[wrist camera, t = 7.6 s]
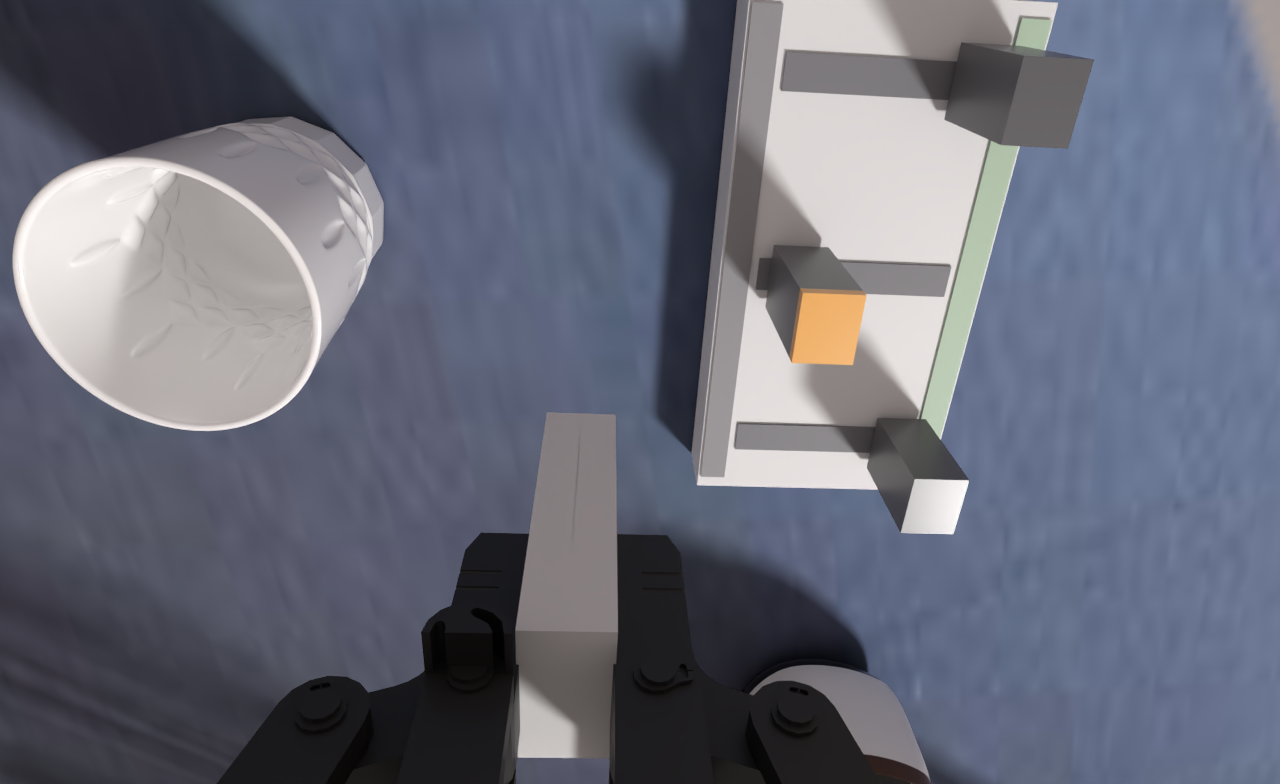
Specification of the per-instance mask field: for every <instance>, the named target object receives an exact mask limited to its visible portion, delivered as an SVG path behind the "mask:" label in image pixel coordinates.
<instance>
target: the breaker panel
mask: <svg viewBox="0 0 1280 784" xmlns="http://www.w3.org/2000/svg"><path fill="white" fill-rule="evenodd" d="M1057 6H1058V3H1051V2H1039V1H1027V0H737V7H736V17H735V27H734V37H733V47H732V56H731V66H730V76H729V86H728V96H727V106H726V116H725V126H724V136H723V146H722V156H721V166H720V175H719V185H718V195H717V205H716V215H715V225H714V235H713V245H712V255H711V265H710V275H709V285H708V294H707V304H706V314H705V324H704V334H703V344H702V354H701V364H700V374H699V384H698V394H697V404H696V414H695V423H694V433H693V443H692V453H691V454H692V459H693V465H694V471H695V476H696V482H697V485H710V486H752V487H794V488H835V489H877V490H878V488H877V487H876V485H875V483H874V481H873V479H872V477H871V475H870V473H869V471H868V469H867V463H868V459H869V454H870V450H871V445H872V441H873V436H874V432H875V427H876V423H877V418H902V419H926V420H927V422H928V423H929V424H930V426H931V427H932V429H933V430H934V431H935V433H936V434H937V436H938V437H939V438H940V440H941V437H942V433H943V429H944V426H945V422H946V418H947V415H948V411H949V407H950V403H951V400H952V396H953V392H954V389H955V385H956V381H957V377H958V374H959V370H960V366H961V362H962V359H963V355H964V351H965V348H966V344H967V340H968V336H969V333H970V329H971V325H972V322H973V318H974V314H975V310H976V307H977V303H978V299H979V296H980V292H981V288H982V284H983V281H984V277H985V273H986V270H987V266H988V262H989V258H990V255H991V251H992V247H993V244H994V240H995V236H996V232H997V229H998V225H999V221H1000V218H1001V214H1002V210H1003V206H1004V203H1005V199H1006V195H1007V192H1008V188H1009V184H1010V180H1011V177H1012V173H1013V169H1014V165H1015V162H1016V158H1017V154H1018V151H1019V147H1020V146H1007V145H999V144H997V143H995V142H993V141H991V140H988V139H986V138H984V137H982V136H979V135H977V134H975V133H973V132H971V131H968V130H966V129H964V128H962V127H960V126H957V125H955V124H953V123H951V122H948V121H946V120H944V118H945V113H946V109H947V104H948V100H949V95H950V91H951V86H952V82H953V77H954V73H955V68H956V64H957V60H958V55H959V51H960V46H961V42H964V43H981V44H998V45H1015V46H1024V47H1030V48H1035V49H1040V50H1046V47H1047V43H1048V39H1049V35H1050V32H1051V28H1052V24H1053V21H1054V17H1055V13H1056V9H1057ZM774 245H785V246H809V247H829V249H830V250H831V251H832V252H833V254H834V255H835V256H836V257H837V259H838V260H839V261H840V262H841V264H842V265H843V266H844V267H845V269H846V270H847V271H848V273H849V274H850V275H851V276H852V278H853V279H854V280H855V281H856V283H857V284H858V285H859V286H860V288H861V289H862V290H863V291H864V293H865V294H866V295H867V296H866V301H865V306H864V311H863V316H862V321H861V326H860V331H859V336H858V341H857V346H856V351H855V357H854V362H853V365H835V364H805V363H791V360H790V358H789V356H788V354H787V352H786V350H785V348H784V346H783V343H782V341H781V339H780V337H779V335H778V333H777V331H776V329H775V327H774V324H773V322H772V320H771V318H770V316H769V314H768V312H767V310H766V307H765V306H766V299H767V291H768V284H769V277H770V270H771V262H772V255H773V248H774Z"/></svg>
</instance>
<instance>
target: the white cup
mask: <svg viewBox="0 0 1280 784" xmlns="http://www.w3.org/2000/svg"><path fill="white" fill-rule="evenodd" d="M383 219H384V202H383V200H382V198H381V195H380V193H379V191H378V189H377V186H376V184H375V182H374V180H373V177H372V175H371V173H370V171H369V168H368V166H367V164H366V163H365V162H364V161H363V160H362V159H361V158H360V157H359V156H358V155H357V154H355V153H354V152H353V151H352V150H351V149H350V148H349V147H348V146H347V145H346V144H345V143H344V142H343V141H342V140H341V139H340V138H339V137H338V136H337V135H336V134H334V133H333V132H330V131H328V130H325V129H323V128H320V127H317V126H315V125H312V124H310V123H307V122H305V121H302V120H299V119H297V118H294V117H291V116H289V117H273V118H257V119H247V120H244V121H241V122H238V123H230V124H225V125H220V126H215V127H211V128H207V129H203V130H199V131H194V132H190V133H186V134H182V135H179V136H175V137H172V138H168V139H165V140H162V141H158V142H155V143H152V144H148V145H145V146H142V147H138V148H135V149H132V150H128V151H125V152H121V153H118V154H115V155H111V156H108V157H104V158H101V159H97V160H94V161H90V162H87V163H84V164H81V165H78V166H76V167H73V168H71V169H69V170H67V171H65V172H63V173H62V174H60V175H58V176H57V177H55V178H54V179H53V180H51V181H50V182H49V183H47V184H46V185H45V186H44V187H43V188H42V189H41V190H40V191H39V192H38V193H37V194H36V195H35V197H34V198H33V199H32V200H31V202H30V203H29V205H28V206H27V208H26V210H25V211H24V213H23V215H22V217H21V220H20V222H19V225H18V227H17V231H16V234H15V239H14V245H13V256H12V264H13V276H14V282H15V287H16V291H17V295H18V298H19V301H20V304H21V307H22V310H23V312H24V314H25V317H26V319H27V321H28V323H29V325H30V327H31V328H32V330H33V332H34V334H35V335H36V337H37V338H38V340H39V341H40V343H41V344H42V346H43V347H44V348H45V350H46V351H47V352H48V353H49V355H50V356H51V357H52V358H53V359H54V361H55V362H56V363H57V364H58V365H59V366H60V367H61V368H62V369H63V370H64V371H65V372H66V373H67V374H68V375H69V376H70V377H71V378H73V379H74V380H75V381H76V382H77V383H78V384H80V385H81V386H82V387H83V388H85V389H86V390H87V391H89V392H90V393H92V394H93V395H95V396H96V397H98V398H99V399H101V400H102V401H104V402H106V403H107V404H109V405H111V406H113V407H115V408H117V409H118V410H120V411H123V412H125V413H127V414H129V415H132V416H134V417H136V418H139V419H142V420H145V421H148V422H151V423H154V424H158V425H162V426H166V427H171V428H176V429H183V430H194V431H216V430H226V429H232V428H237V427H241V426H245V425H248V424H251V423H254V422H257V421H259V420H261V419H264V418H266V417H268V416H269V415H271V414H273V413H275V412H276V411H278V410H279V409H281V408H282V407H283V406H285V405H286V404H287V403H288V402H289V401H291V400H292V399H293V398H294V397H295V396H296V395H297V393H298V392H299V391H300V390H301V389H302V387H303V386H304V384H305V383H306V382H307V380H308V378H309V377H310V375H311V373H312V371H313V370H314V368H315V366H316V365H317V363H318V361H319V360H320V358H321V356H322V355H323V353H324V351H325V349H326V347H327V346H328V344H329V342H330V341H331V339H332V337H333V336H334V334H335V333H336V331H337V330H338V328H339V327H340V325H341V323H342V322H343V320H344V318H345V317H346V315H347V313H348V311H349V309H350V307H351V305H352V303H353V302H354V300H355V298H356V296H357V294H358V292H359V290H360V288H361V286H362V285H363V283H364V281H365V278H366V274H367V270H368V267H369V265H370V263H371V262H372V260H373V258H374V256H375V255H376V253H377V251H378V249H379V248H380V246H381V244H382V242H383Z"/></svg>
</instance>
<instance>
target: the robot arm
mask: <svg viewBox="0 0 1280 784" xmlns="http://www.w3.org/2000/svg"><path fill="white" fill-rule="evenodd" d="M421 634H422V645H423V656H424V666H425V671H424V672H423V673H421V674H420V675H419V676H417V677H415V678H413V679H412V680H410V681H408V682H405V683H402V684H400V685H397V686H394V687H390V688H386V689H382V690H378V691H374V692H369V693H368V692H367V691H366V690H365V688H364V687H363V686H362V685H361V684H360V683H359V682H357V681H355V680H352V679H350V678H348V677H340V676H326V677H322V678H318V679H314V680H310V681H308V682H306V683H304V684H302V685H300V686H298V687H297V688H295V689H293V690H292V691H291V692H290V693H289V694H287V695H286V696H285V697H284V698H283V699H282V700H281V701H280V702H279V703H278V705H277V706H276V707H275V709H274V710H273V711H272V712H271V714H270V715H269V716H268V718H267V719H266V720H265V722H264V723H263V724H262V725H261V727H260V728H259V729H258V731H257V732H256V733H255V735H254V736H253V737H252V739H251V740H250V741H249V742H248V744H247V745H246V746H245V748H244V749H243V750H242V752H241V753H240V754H239V756H238V757H237V758H236V759H235V761H234V762H233V763H232V765H231V766H230V767H229V769H228V770H227V771H226V772H225V774H224V775H223V776H222V778H221V779H220V780H219V782H218V783H217V784H516V761H517V753H518V757H523V758H610V770H609V784H881V782H880V781H879V779H878V777H877V776H876V774H875V772H874V771H873V769H872V767H871V766H870V764H869V762H868V761H867V759H866V757H865V756H864V754H863V752H862V751H861V749H860V747H859V746H858V744H857V742H856V741H855V739H854V737H853V736H852V734H851V732H850V731H849V729H848V727H847V726H846V724H845V722H844V721H843V719H842V717H841V716H840V714H839V712H838V711H837V709H836V707H835V706H834V705H833V704H832V703H831V701H830V700H829V699H828V698H827V697H826V696H825V695H824V694H823V693H821V692H820V691H818V690H816V689H815V688H813V687H811V686H810V685H807V684H803V683H800V682H796V681H775V682H772V683H770V684H767V685H764V686H762V687H761V688H760V689H759V690H758V691H757V692H756V693H755V694H754V695H750V694H747V693H744V692H740V691H737V690H733V689H730V688H728V687H725V686H723V685H720V684H718V683H717V682H715V681H714V680H712V679H711V678H709V677H708V676H707V675H706V674H705V673H704V672H703V671H702V670H701V669H700V668H699V666H698V665H697V663H696V661H695V660H694V657H693V653H692V649H691V640H690V632H689V624H688V616H687V607H686V599H685V593H684V582H683V577H682V566H681V557H680V552H679V551H678V550H677V548H676V547H675V546H674V544H673V543H672V542H671V540H670V539H669V537H668V536H667V535H626V534H617V502H616V415H607V414H576V413H547V415H546V422H545V429H544V436H543V443H542V450H541V457H540V464H539V470H538V477H537V484H536V491H535V498H534V505H533V512H532V519H531V526H530V532H529V534H511V533H480V534H479V536H478V537H477V538H476V539H475V540H474V541H473V542H472V543H471V544H470V546H469V547H468V548H467V549H466V550H465V554H464V558H463V562H462V566H461V570H460V574H459V578H458V582H457V586H456V590H455V594H454V598H453V602H452V605H451V606H449V607H447V608H444V609H442V610H440V611H439V612H438V613H436V614H435V615H434V616H433V617H431V618H430V619H429V620H428V621H427V623H426V625H425V627H424V628H423V630H422V632H421Z"/></svg>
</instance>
